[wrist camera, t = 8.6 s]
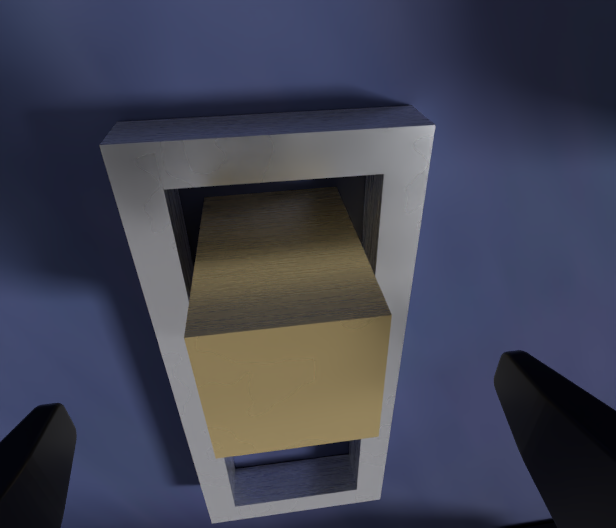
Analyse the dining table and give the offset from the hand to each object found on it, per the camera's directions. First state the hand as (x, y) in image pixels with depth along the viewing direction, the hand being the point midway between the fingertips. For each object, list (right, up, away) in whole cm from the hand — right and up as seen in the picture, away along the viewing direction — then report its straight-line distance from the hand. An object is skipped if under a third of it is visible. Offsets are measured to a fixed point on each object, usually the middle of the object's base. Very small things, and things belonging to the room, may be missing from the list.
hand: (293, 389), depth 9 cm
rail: (-1, -1, +8) cm, 8 cm away
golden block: (-1, +3, +5) cm, 6 cm away
